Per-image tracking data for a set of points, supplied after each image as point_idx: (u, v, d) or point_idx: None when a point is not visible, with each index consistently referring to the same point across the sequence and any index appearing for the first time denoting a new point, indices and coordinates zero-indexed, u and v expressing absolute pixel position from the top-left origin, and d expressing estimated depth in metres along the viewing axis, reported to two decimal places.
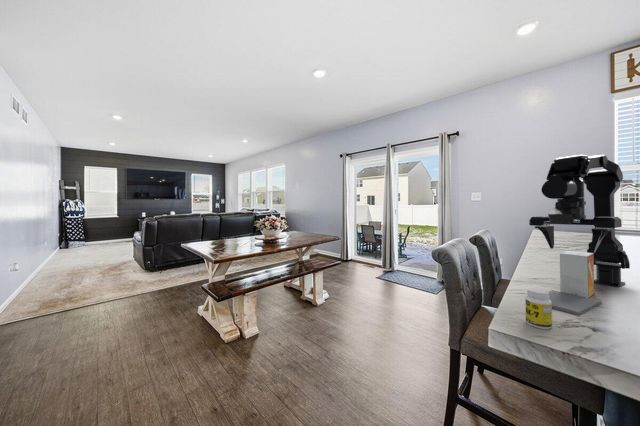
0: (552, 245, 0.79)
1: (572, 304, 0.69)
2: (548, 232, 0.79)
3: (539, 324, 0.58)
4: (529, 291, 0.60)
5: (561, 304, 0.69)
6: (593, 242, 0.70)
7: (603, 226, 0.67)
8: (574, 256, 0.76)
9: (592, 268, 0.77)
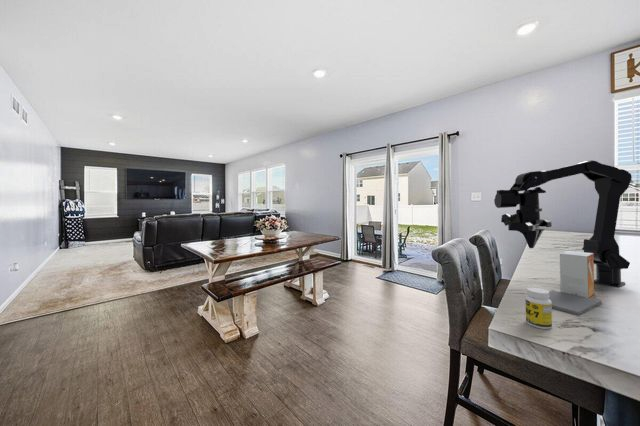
0: None
1: (572, 304, 0.69)
2: None
3: (539, 324, 0.58)
4: (529, 291, 0.60)
5: (561, 304, 0.69)
6: None
7: None
8: (574, 256, 0.76)
9: (592, 268, 0.77)
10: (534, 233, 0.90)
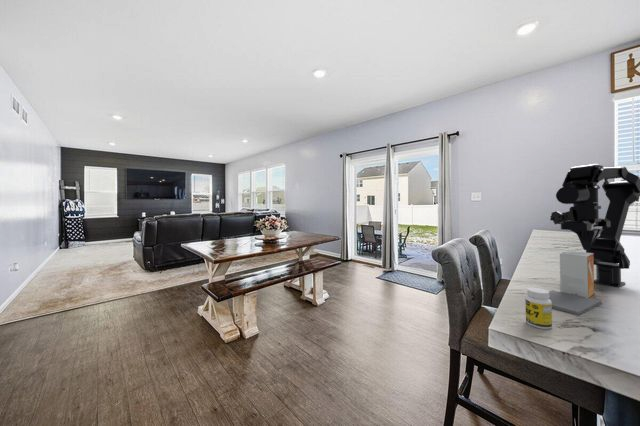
0: None
1: (572, 304, 0.69)
2: None
3: (539, 324, 0.58)
4: (529, 291, 0.60)
5: (561, 304, 0.69)
6: None
7: None
8: (574, 256, 0.76)
9: (592, 268, 0.77)
10: (591, 233, 0.80)
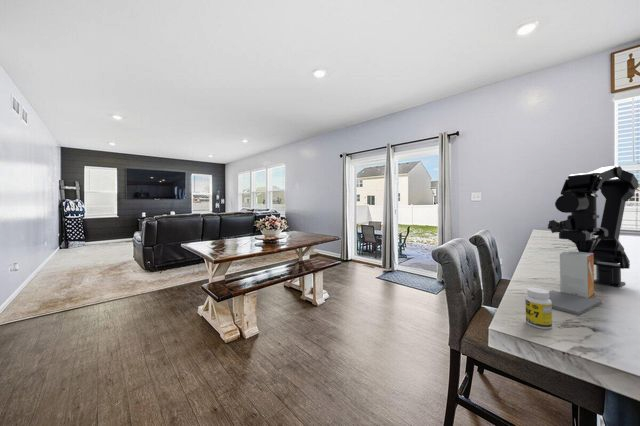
0: None
1: (572, 304, 0.69)
2: None
3: (539, 324, 0.58)
4: (529, 291, 0.60)
5: (561, 304, 0.69)
6: None
7: None
8: (574, 256, 0.76)
9: (592, 268, 0.77)
10: (590, 243, 0.78)
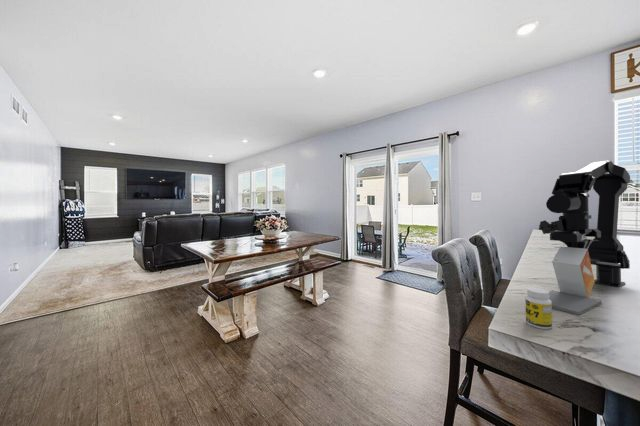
0: None
1: (572, 304, 0.69)
2: None
3: (539, 324, 0.58)
4: (529, 291, 0.60)
5: (561, 304, 0.69)
6: None
7: None
8: (567, 264, 0.73)
9: (588, 265, 0.74)
10: (582, 244, 0.75)
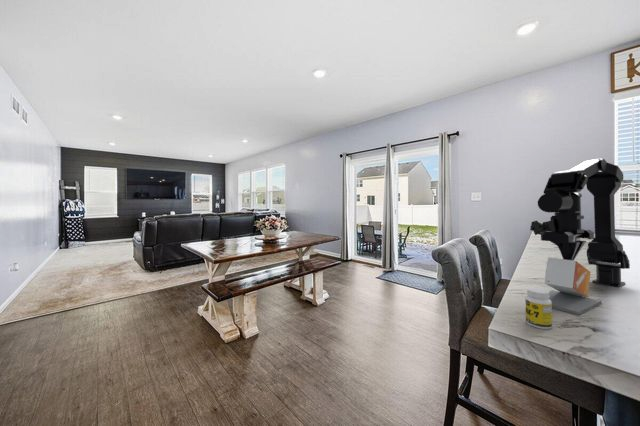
0: None
1: (572, 304, 0.69)
2: None
3: (539, 324, 0.58)
4: (529, 291, 0.60)
5: (561, 304, 0.69)
6: None
7: None
8: (559, 286, 0.71)
9: (580, 272, 0.71)
10: (573, 245, 0.73)
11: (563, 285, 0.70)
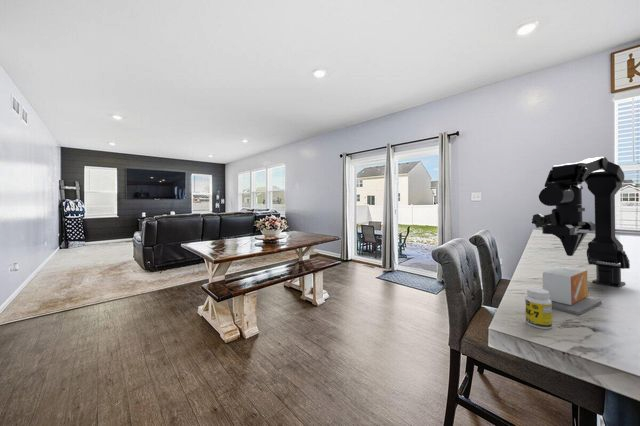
0: None
1: None
2: None
3: (539, 324, 0.58)
4: (529, 291, 0.60)
5: (561, 304, 0.69)
6: None
7: None
8: None
9: (577, 281, 0.70)
10: (575, 238, 0.74)
11: (562, 302, 0.70)
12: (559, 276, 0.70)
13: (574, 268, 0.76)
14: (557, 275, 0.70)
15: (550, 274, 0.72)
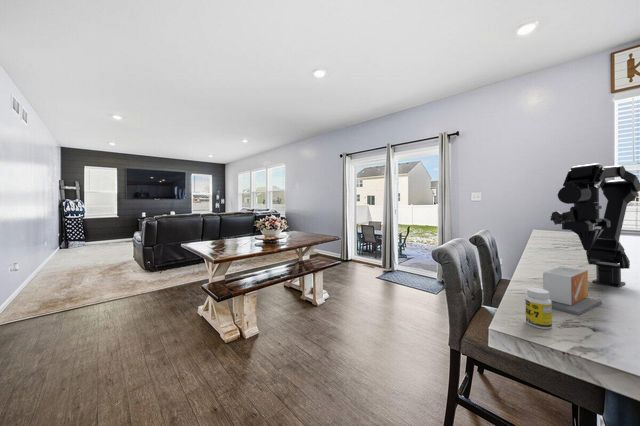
0: None
1: None
2: None
3: (539, 324, 0.58)
4: (529, 291, 0.60)
5: (561, 304, 0.69)
6: None
7: None
8: None
9: (577, 282, 0.70)
10: (592, 233, 0.79)
11: (562, 302, 0.70)
12: (559, 276, 0.70)
13: (574, 268, 0.76)
14: (557, 275, 0.70)
15: (550, 274, 0.72)
